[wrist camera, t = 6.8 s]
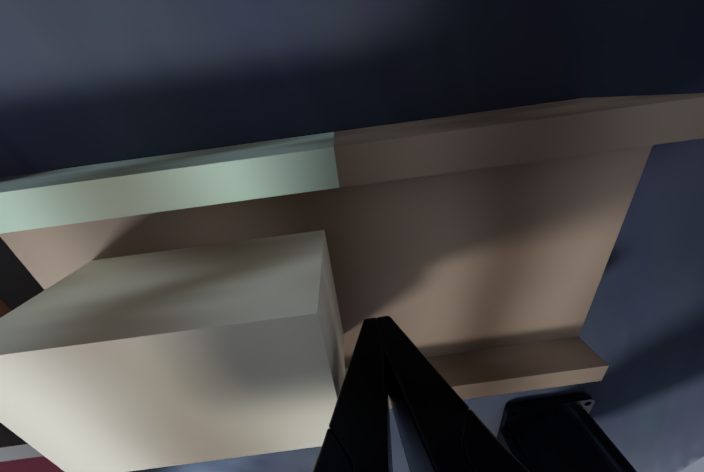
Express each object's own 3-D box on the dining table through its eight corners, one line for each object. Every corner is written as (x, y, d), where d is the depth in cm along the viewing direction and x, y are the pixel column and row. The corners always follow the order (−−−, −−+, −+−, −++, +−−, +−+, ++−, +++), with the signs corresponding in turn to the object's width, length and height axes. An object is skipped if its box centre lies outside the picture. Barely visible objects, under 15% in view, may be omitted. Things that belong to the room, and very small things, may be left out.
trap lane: (583, 97, 10) (778, 90, 6) (530, 308, 15) (612, 392, 11) (-115, 192, 10) (-465, 258, 6) (60, 371, 15) (-55, 482, 11)
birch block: (324, 229, 9) (317, 313, 5) (343, 334, 11) (347, 442, 7) (92, 260, 9) (-75, 365, 5) (158, 358, 11) (74, 478, 7)
